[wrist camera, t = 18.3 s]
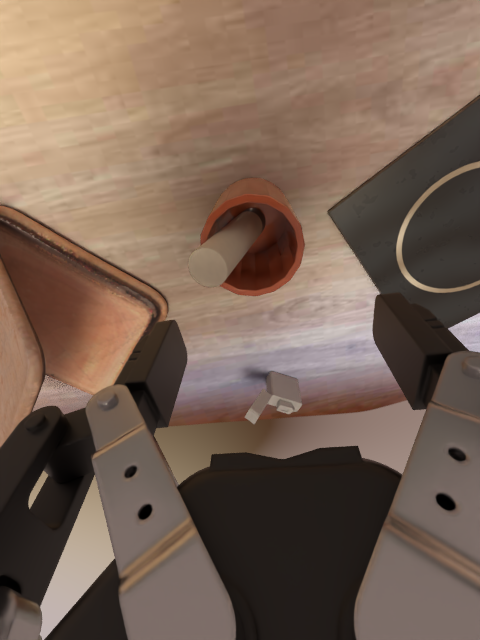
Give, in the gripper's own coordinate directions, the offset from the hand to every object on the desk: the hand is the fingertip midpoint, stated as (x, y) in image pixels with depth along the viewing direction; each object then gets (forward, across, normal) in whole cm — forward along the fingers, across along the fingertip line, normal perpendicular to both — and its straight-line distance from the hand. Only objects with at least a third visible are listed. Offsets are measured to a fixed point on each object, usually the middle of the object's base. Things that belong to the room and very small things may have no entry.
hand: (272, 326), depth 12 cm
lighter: (+19, +2, +21) cm, 29 cm away
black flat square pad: (+19, -19, +5) cm, 28 cm away
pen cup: (+19, +1, 0) cm, 19 cm away
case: (+19, +26, +8) cm, 33 cm away
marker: (+18, +1, 0) cm, 18 cm away
